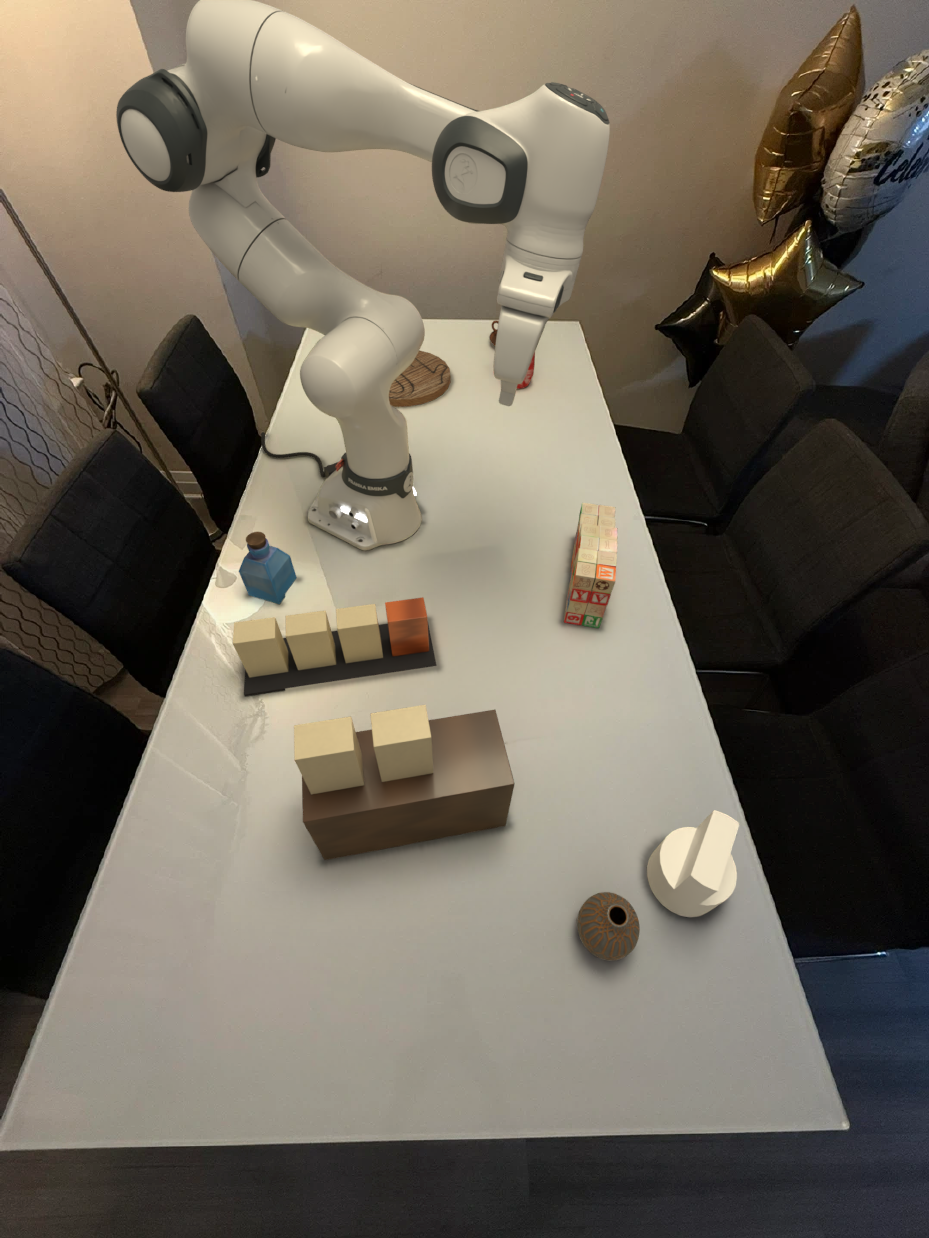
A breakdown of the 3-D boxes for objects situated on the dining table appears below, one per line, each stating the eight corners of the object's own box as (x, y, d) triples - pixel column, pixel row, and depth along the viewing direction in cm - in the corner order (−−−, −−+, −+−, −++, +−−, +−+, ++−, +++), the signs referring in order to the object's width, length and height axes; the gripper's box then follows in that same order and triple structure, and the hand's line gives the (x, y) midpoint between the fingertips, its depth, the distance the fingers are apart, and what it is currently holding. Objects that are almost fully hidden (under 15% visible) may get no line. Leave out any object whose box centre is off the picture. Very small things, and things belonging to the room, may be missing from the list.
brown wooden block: (324, 860, 74) (284, 789, 57) (321, 787, 81) (284, 702, 63) (505, 825, 78) (522, 748, 60) (489, 757, 84) (500, 669, 66)
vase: (568, 903, 72) (580, 884, 65) (622, 898, 72) (640, 879, 65) (579, 967, 68) (594, 954, 61) (637, 961, 68) (658, 948, 61)
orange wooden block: (392, 656, 94) (387, 622, 87) (389, 637, 96) (384, 602, 89) (429, 651, 95) (427, 616, 88) (425, 632, 97) (423, 597, 90)
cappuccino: (486, 352, 158) (487, 329, 153) (492, 332, 165) (493, 309, 160) (530, 357, 157) (532, 334, 152) (534, 336, 164) (536, 313, 159)
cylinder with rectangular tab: (706, 932, 70) (745, 909, 61) (636, 890, 73) (663, 861, 64) (727, 866, 75) (767, 835, 66) (661, 829, 78) (689, 794, 68)
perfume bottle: (297, 579, 105) (282, 530, 95) (279, 604, 101) (262, 555, 92) (267, 571, 106) (249, 521, 97) (248, 595, 102) (228, 546, 93)
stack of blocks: (573, 539, 113) (585, 488, 103) (606, 544, 112) (620, 493, 102) (563, 623, 100) (575, 574, 90) (600, 629, 99) (616, 580, 89)
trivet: (408, 346, 160) (408, 339, 158) (470, 382, 148) (470, 375, 147) (333, 377, 149) (331, 370, 147) (393, 418, 137) (392, 411, 136)
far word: (244, 696, 89) (225, 661, 82) (247, 645, 96) (229, 607, 88) (436, 667, 93) (435, 631, 86) (427, 620, 100) (425, 582, 92)
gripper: (525, 247, 75) (503, 354, 85) (495, 292, 61) (473, 414, 71) (572, 259, 75) (544, 365, 85) (553, 307, 61) (522, 428, 71)
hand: (512, 388), depth 78 cm, fingers open, 8 cm apart
